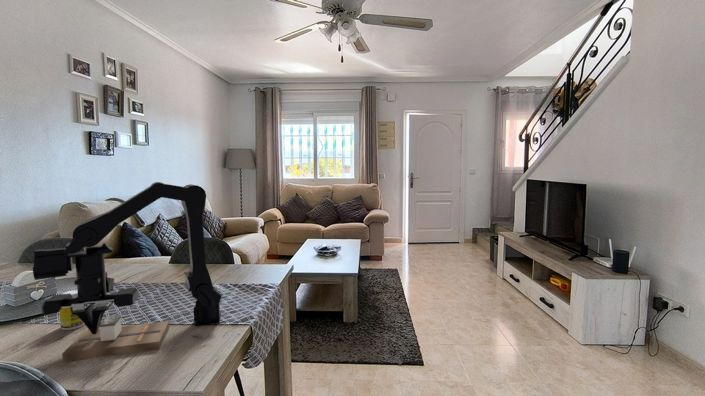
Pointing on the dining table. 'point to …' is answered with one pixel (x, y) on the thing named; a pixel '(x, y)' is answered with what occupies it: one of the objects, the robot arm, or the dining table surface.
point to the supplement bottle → (69, 315)
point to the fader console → (118, 342)
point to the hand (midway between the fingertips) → (95, 333)
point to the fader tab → (110, 327)
